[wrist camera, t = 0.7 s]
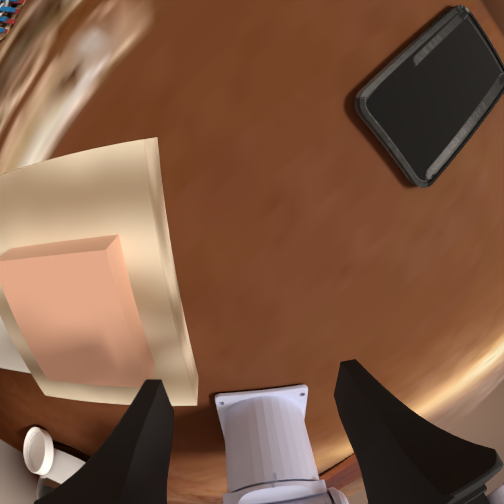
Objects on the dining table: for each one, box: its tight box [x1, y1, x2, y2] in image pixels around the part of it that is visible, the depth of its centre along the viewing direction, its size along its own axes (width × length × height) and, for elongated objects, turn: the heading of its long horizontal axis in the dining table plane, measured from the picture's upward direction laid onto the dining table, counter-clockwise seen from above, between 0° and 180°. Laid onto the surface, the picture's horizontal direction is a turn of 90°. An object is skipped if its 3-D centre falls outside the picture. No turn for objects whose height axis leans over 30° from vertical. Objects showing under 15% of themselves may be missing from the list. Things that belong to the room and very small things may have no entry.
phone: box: [355, 5, 504, 188], centre depth 15 cm, size 8×1×15 cm
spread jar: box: [23, 427, 90, 499], centre depth 23 cm, size 12×11×12 cm
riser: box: [0, 137, 198, 406], centre depth 17 cm, size 18×14×3 cm
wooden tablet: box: [319, 453, 362, 490], centre depth 34 cm, size 27×10×2 cm, turn 146°
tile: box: [0, 234, 155, 387], centre depth 15 cm, size 9×8×2 cm
